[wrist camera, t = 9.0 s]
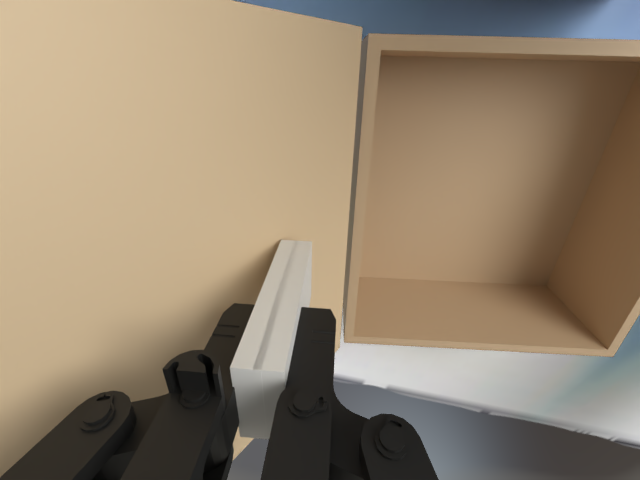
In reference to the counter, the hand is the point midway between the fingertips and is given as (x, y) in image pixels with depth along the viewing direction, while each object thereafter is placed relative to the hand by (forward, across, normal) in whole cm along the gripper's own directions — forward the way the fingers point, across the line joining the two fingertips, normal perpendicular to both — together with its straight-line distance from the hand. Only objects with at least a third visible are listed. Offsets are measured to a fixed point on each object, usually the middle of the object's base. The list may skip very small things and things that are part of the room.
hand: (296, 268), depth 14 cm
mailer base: (+13, -11, 0) cm, 17 cm away
